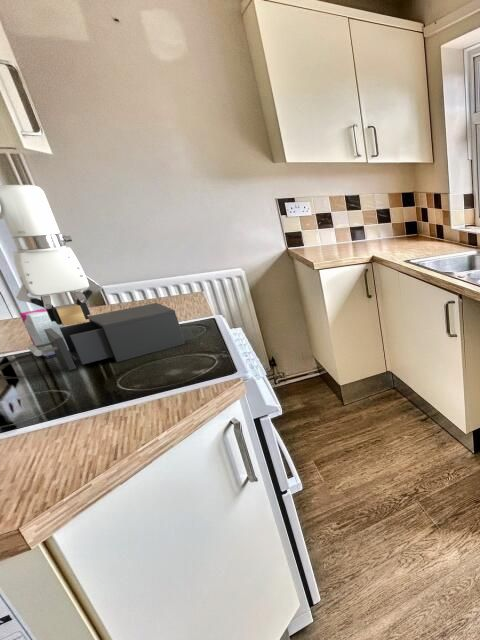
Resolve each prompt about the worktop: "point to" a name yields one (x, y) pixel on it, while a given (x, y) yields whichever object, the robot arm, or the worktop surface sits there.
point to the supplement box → (41, 329)
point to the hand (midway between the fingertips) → (72, 320)
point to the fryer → (140, 330)
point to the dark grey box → (76, 344)
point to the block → (70, 314)
